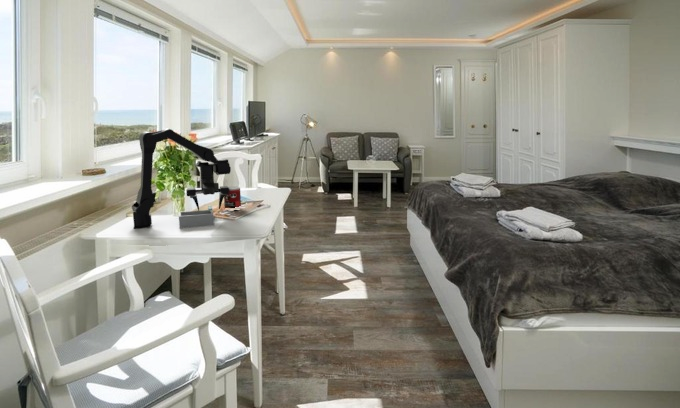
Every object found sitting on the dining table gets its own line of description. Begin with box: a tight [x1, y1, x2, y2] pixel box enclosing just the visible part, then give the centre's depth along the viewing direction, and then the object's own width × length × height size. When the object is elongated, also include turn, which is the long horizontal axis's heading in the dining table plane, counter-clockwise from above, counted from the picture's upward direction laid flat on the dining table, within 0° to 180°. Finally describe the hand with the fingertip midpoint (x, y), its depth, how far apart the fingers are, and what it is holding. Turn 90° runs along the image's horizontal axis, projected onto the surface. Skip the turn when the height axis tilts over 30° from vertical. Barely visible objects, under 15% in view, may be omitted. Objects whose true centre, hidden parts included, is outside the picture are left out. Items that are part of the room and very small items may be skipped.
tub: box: [178, 209, 215, 229], centre depth 205 cm, size 14×9×5 cm, turn 108°
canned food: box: [223, 186, 242, 209], centre depth 232 cm, size 8×8×11 cm
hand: (209, 209), depth 218 cm, fingers open, 9 cm apart
